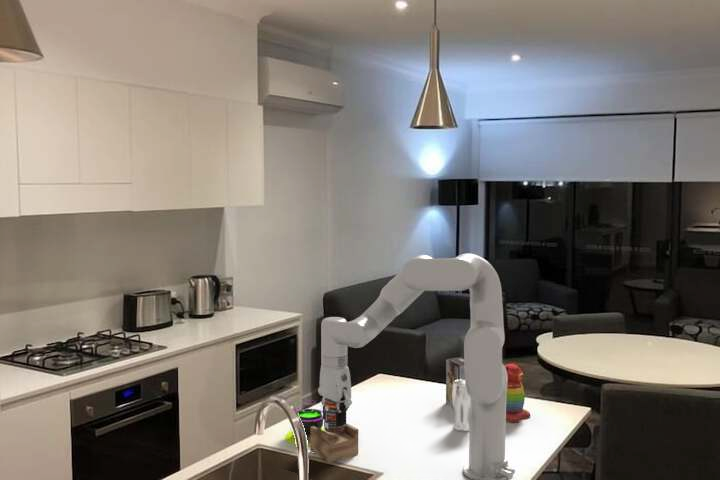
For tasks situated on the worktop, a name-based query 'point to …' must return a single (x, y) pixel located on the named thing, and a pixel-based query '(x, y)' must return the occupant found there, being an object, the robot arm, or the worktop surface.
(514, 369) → the stacking bear
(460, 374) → the coffee box
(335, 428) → the supplement bottle
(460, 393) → the white cylindrical cup
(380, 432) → the worktop surface
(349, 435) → the pedestal
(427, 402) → the worktop surface
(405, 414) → the worktop surface
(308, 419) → the toy cauldron
